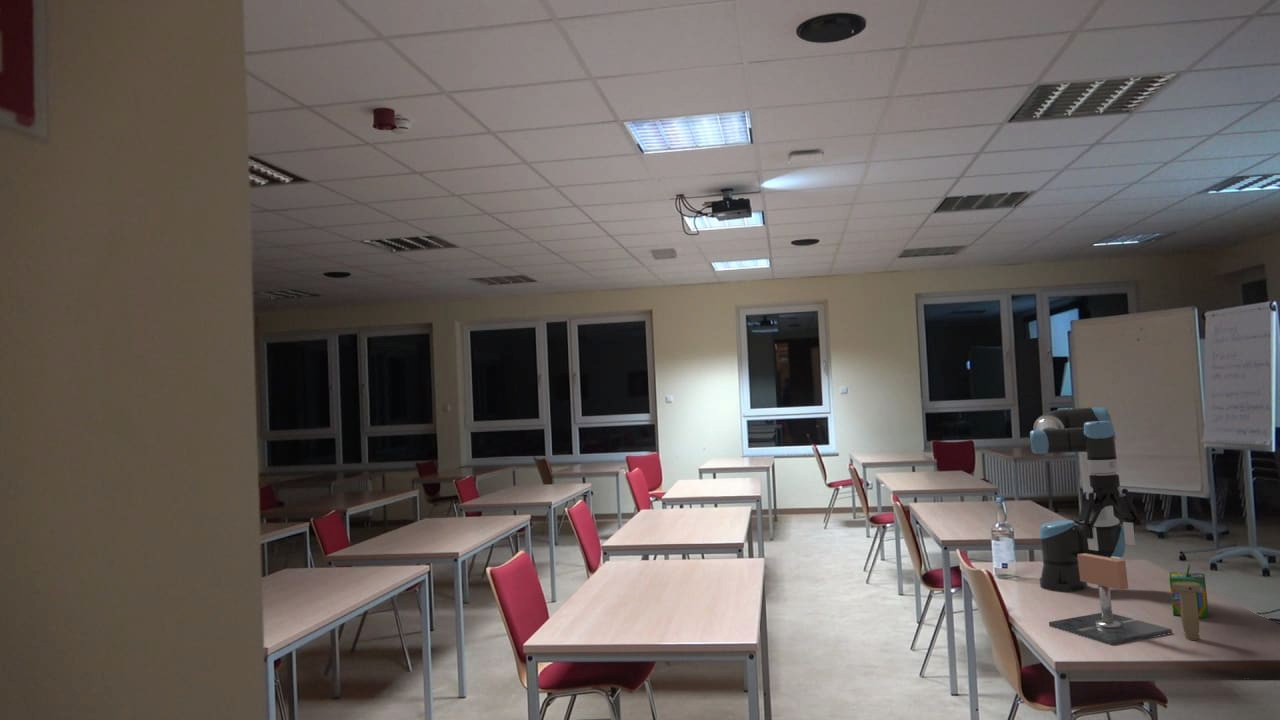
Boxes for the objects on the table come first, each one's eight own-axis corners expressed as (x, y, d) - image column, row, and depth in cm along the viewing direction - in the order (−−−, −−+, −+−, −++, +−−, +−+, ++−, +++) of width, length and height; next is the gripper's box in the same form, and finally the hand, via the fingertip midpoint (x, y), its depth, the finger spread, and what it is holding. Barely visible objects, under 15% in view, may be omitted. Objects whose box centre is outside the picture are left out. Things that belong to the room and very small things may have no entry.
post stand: (1106, 615, 241) (1101, 574, 242) (1172, 633, 220) (1166, 588, 221) (1049, 626, 235) (1044, 583, 236) (1111, 645, 214) (1105, 598, 215)
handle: (1209, 641, 211) (1202, 585, 213) (1183, 641, 213) (1176, 586, 214) (1201, 636, 216) (1194, 581, 217) (1175, 636, 217) (1168, 582, 219)
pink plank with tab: (1088, 579, 236) (1084, 550, 236) (1128, 588, 222) (1124, 557, 223) (1080, 581, 235) (1076, 551, 236) (1120, 590, 222) (1116, 558, 222)
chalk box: (1173, 608, 244) (1167, 560, 245) (1208, 610, 239) (1202, 562, 240) (1172, 615, 237) (1166, 566, 238) (1209, 618, 231) (1203, 568, 232)
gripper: (1080, 478, 220) (1088, 553, 218) (1148, 470, 227) (1157, 544, 225) (1059, 476, 227) (1067, 550, 225) (1125, 469, 234) (1134, 541, 232)
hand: (1112, 547), depth 225 cm, fingers open, 13 cm apart
